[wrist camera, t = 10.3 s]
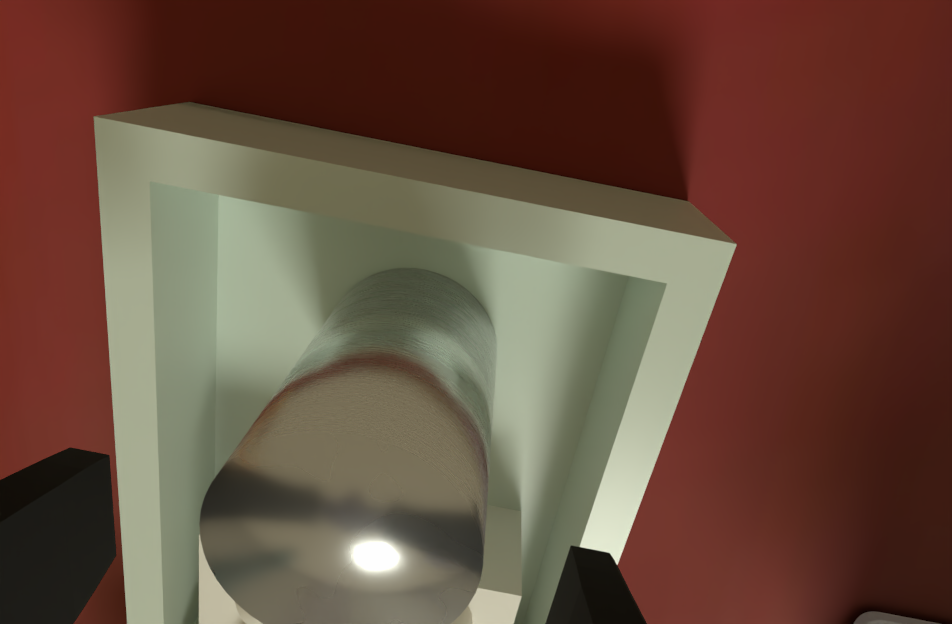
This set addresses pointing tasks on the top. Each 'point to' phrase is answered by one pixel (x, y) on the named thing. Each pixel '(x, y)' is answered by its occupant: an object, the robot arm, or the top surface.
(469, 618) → the egg carton
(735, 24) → the top surface
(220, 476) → the tin can
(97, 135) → the tote
